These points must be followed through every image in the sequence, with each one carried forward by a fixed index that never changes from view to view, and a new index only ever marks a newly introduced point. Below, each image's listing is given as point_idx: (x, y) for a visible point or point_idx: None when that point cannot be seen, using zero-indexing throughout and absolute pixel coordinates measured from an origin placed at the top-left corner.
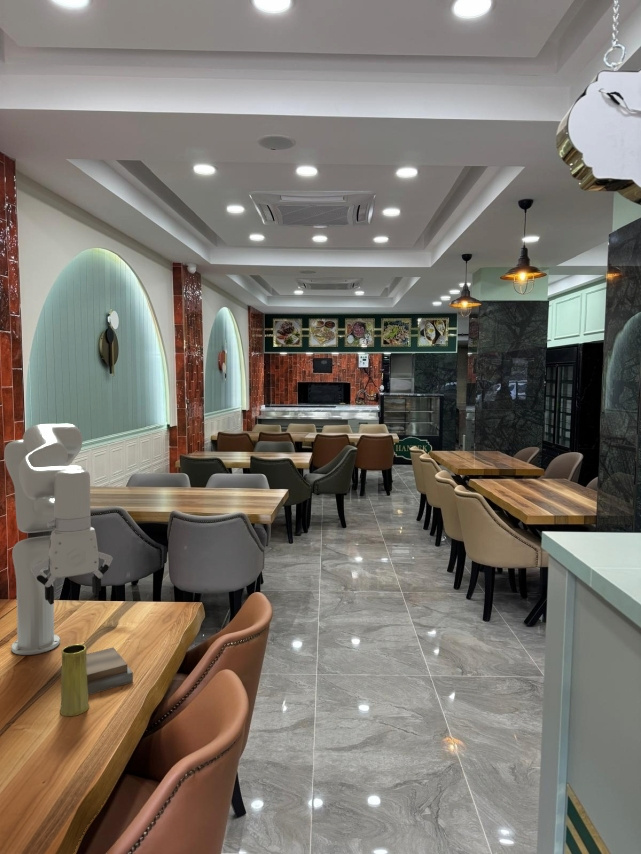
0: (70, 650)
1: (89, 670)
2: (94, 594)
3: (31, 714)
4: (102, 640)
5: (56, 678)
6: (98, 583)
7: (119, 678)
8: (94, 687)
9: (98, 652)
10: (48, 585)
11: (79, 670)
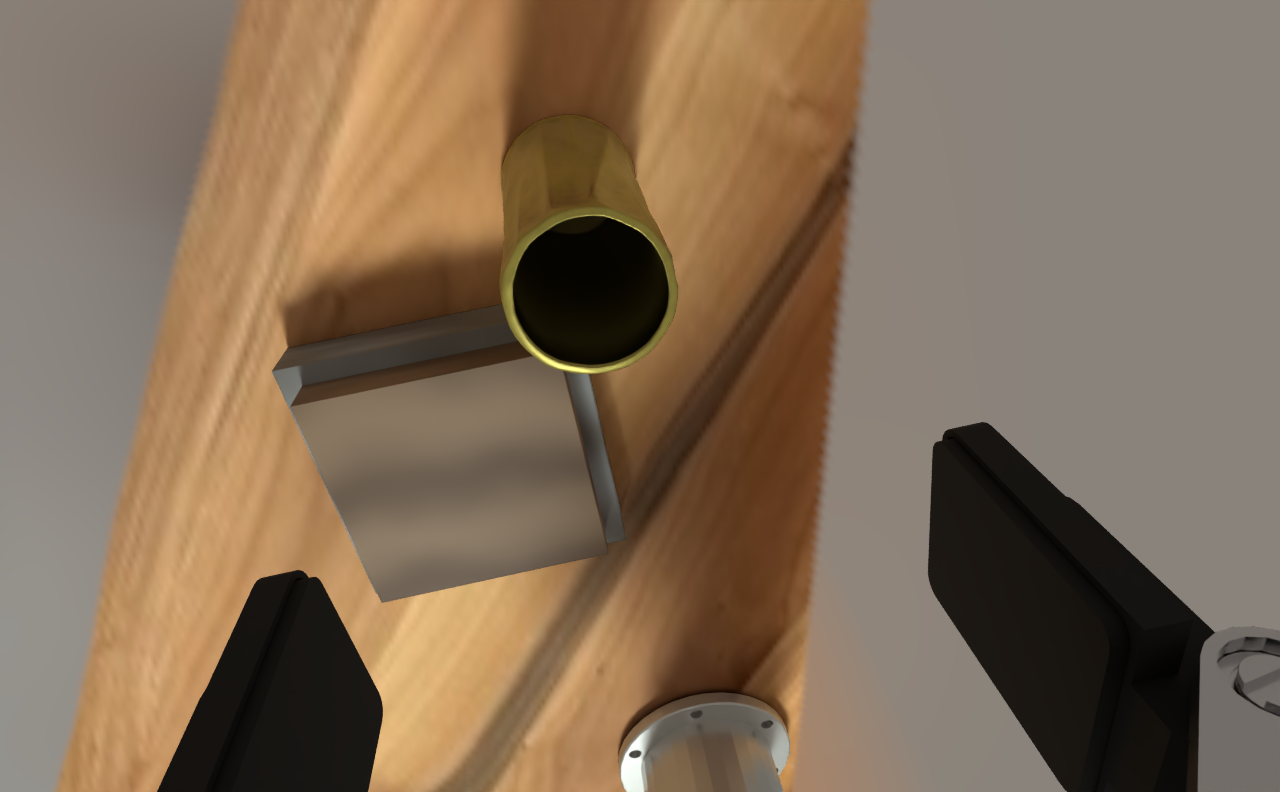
0: (610, 349)
1: (496, 404)
2: (341, 622)
3: (754, 221)
4: (452, 739)
5: (639, 495)
6: (183, 754)
7: (346, 351)
8: (474, 320)
9: (455, 572)
10: (1254, 659)
11: (549, 178)
